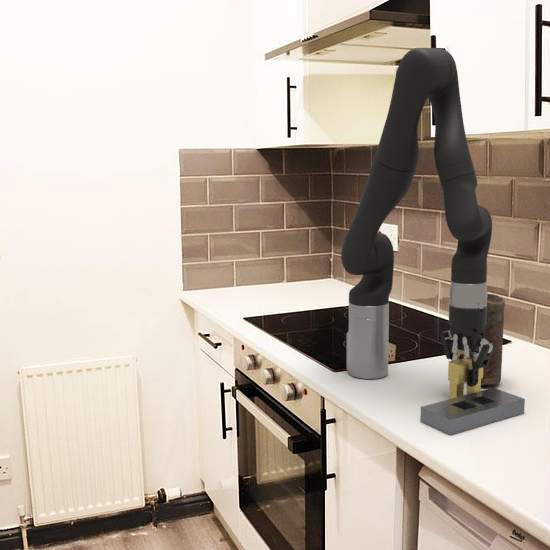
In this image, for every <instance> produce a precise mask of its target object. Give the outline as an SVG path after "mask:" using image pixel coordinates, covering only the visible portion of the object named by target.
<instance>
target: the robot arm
mask: <svg viewBox="0 0 550 550" xmlns="http://www.w3.org/2000/svg"><path fill="white" fill-rule="evenodd" d="M394 79H395V80H394V83H393V89H392V93H391V98H390V103H389V108H388V111H387V115H386V120H385V122H384V126H383V129H382V133H381V136H380V139H379V143H378V146H377V149H376V151H375V154H374V156H373V160H372V163H371V167H370V170H369V173H368V178H367V179H366V180H367V181H366V184H365V186H364V187H365V188H364V190H363V193H362V197H360V198H361V200H360V202H359V204H358V207H357V211H356V213H355V215H354V218H353V220H352V222H351V224H350V226H349V229H348V232H347V234H346V235H345V239H344V240H343V243H342V247H341V253H340V254H341V255H340V256H341V257H340V258H341V264H342V267H343V269H344V270H345V272H347V273H348V274H350V275H351V276H362V277H361V279H360V281H359V282H358V283H356V285H355V286H353V287H351V288H350V290H349V292H348V331H347V333H346V371H347V372H348V375H350V376H352V377H353V378H358V379H363V380H364V379H365V380H374V379H375V380H376V379H382V378H385V377H387V376H388V375H389V327H390V326H389V325H390V324H389V316H390V313H389V311H390V310H389V309H390V307H389V306H390V305H389V304H390V302H389V301H390V300H389V299H390V295H391V294H392V293H391V292H392V290H393V283H394V281H393V280H394V268H395V267H394V266H395V252H394V246H393V242H392V240H391V239H390V238H389V236H388V235H386V234H384V233H382V232H379V231H380V228H381V227H382V225H383V223H384V221H385V220H386V218H387V217H388V216H389V215H390V214H391V213H392V212H393V210H394V209H396V207H397V206H398V205H399V203H400V202H401V201H402V200H403V199H404V197H405V196H406V194H407V193H408V191H409V189H410V187H411V184H412V182H413V179H414V178H415V177H414V176H415V174H416V171H417V169H418V164H419V160H420V159H419V158H420V150H419V149H420V147H419V138H418V136H419V135H418V133H419V131H418V128H419V127H418V126H419V121H420V117H421V114H422V112H423V109H424V106H425V103H426V101H427V99H428V100H429V103H430V105H431V108H432V112H433V117H434V124H435V126H434V145H433V156H434V163H435V167H436V172H437V175H438V178H439V183H440V186H441V188H442V192H443V193H442V194H443V205H444V215H445V222H446V225H447V228H448V230H449V232H450V234H451V236H452V237H453V238H454V239H456V240H457V247H456V251H455V253H453V255H452V258H451V265H450V266H451V267H450V268H451V270H450V286H449V291H448V292H449V293H448V295H449V297H448V298H449V299H448V301H449V302H448V324H449V325H450V328H449V330H444V331H441V332H440V333H439V335H440V340H441V343H442V347H443V351H444V353H445V358H446V359H447V360H450V361H454V360H458V359H463V358H467V362H468V368H469V369H468V370H467V382H466V387H467V386H470V387H472V386H476V385H477V383H478V374H479V369H480V368H483V367H487V365H488V363H489V361H490V358H491V356H492V354H493V352H494V349H495V347H496V346H495V344H494V343H489V342H488V341H487V340H486V339H485V334H484V327H485V326H486V320H487V294H488V286H487V285H488V284H487V277H488V275H487V274H488V256H489V251H490V245H491V240H492V233H493V220H492V215H491V213H490V212H489V210H488V209H487V208H486V207H484V206H483V205H480V204H478V200H477V195H476V194H477V193H476V189H477V186H478V177H477V174H476V171H475V166H474V164H473V160H472V156H471V152H470V149H469V144H468V141H467V136H466V129H465V125H464V118H463V109H462V102H461V94H460V84H459V74H458V69H457V63H456V61H455V59H454V57H453V55H452V54H451V53H450V52H449V51H448V50H446V49H443V48H439V47H438V48H437V47H416V48H412V49H410V50H408V51H407V52H406V53H405V54H404V55H403V57H401V60H400V62H399V64H398V67H397V70H396V73H395V78H394ZM471 352H474V353H471ZM473 358H474V362H475V363H473Z"/></svg>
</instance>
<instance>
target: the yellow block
mask: <svg viewBox="0 0 550 550" xmlns="http://www.w3.org/2000/svg"><path fill="white" fill-rule="evenodd" d="M473 363H475V362H474V358H473ZM447 366H448V369H447V370H448V372H447V374H448V375H447V381H449V399H452V398H456V397H460V396H464V391H465V390H464V389H465V386H464V385H465V383H467V370H468V369H469V368H468V362H467V358H463V359H458V360H454V361H452V360H450V361H448V365H447ZM481 378H483V368H480V369H479V374H478V383H477V385H476V386H472V387H470V386H467V385H466V395H468V394H471V393H475V392H479V391H482V387H481V386H482V385H481ZM449 399H448V400H449Z"/></svg>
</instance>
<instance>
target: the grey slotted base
mask: <svg viewBox="0 0 550 550" xmlns="http://www.w3.org/2000/svg"><path fill="white" fill-rule="evenodd" d="M525 404H526V401H525V398H523V397H521V396H518V395H515V394H513V393H509V392H507V391H504V390H501V389H498V388H496V387H490V388H486V389H483V390H481V391H479V392H475V393H471V394H468V395H467V394H465V395H463V396H460V397H456V398H452V399H446V400H445V399H444V400H441V401H438V402H433V403H430V404H426V405H423V406H420V422H421V423H423V424H425V425H428V426H430V427H431V428H432V429H436V430H437V431H440V432H442V433H444V434H447V435H448V436H454V435H456V434H459V433H462V432H463V433H464V432H466V431H469V430H473V429H476V428H479V427H482V426H486V425H490V424H493V423H496V422H499V421H503V420H506V419H510V418H512V417H513V418H514V417H516V416H519V415H523V414H525Z"/></svg>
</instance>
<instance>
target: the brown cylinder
mask: <svg viewBox="0 0 550 550" xmlns="http://www.w3.org/2000/svg"><path fill="white" fill-rule="evenodd" d="M505 303H506V300H505V299H504V298H503V297H500V296H498V295H496V294H492V293H487V320H486V326H485V327H484V334H485V339H486V340H487V341H488V342H489V343H494V344H495V346H496V347H495V349H494V352H493V354H492V356H491V358H490V361H489V363H488V365H487V367H483V378H481V386H487V387H490V386H491V387H492V386H496V385H498V384H499V383H500V382H501V380H502V363H503V347H504V346H503V345H504V344H503V342H504V341H503V340H504V324H505V323H504V321H505V320H504V319H505ZM471 353H474V352H471Z"/></svg>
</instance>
